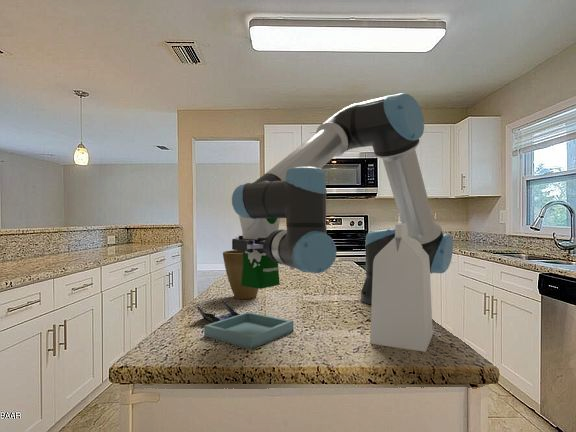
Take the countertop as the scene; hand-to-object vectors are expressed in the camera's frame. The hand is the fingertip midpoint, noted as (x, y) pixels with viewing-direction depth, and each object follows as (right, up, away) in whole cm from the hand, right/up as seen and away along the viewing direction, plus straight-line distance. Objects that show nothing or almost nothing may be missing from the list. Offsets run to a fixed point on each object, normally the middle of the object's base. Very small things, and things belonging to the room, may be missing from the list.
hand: (254, 241), depth 101 cm
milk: (+35, -21, -16) cm, 44 cm away
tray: (0, -21, -11) cm, 24 cm away
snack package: (-9, -22, 0) cm, 24 cm away
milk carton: (+2, -11, -4) cm, 12 cm away
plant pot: (-6, -21, +30) cm, 37 cm away
